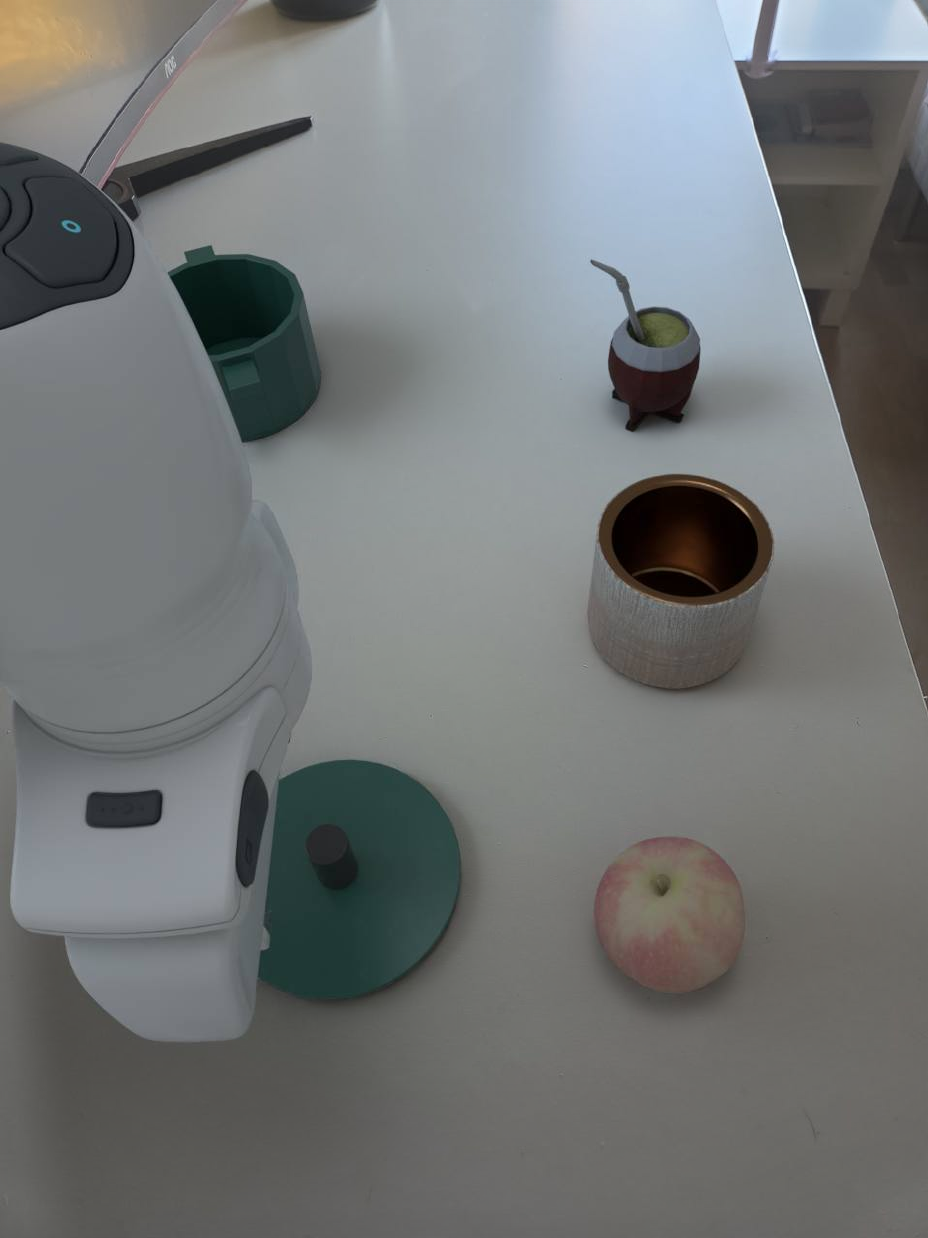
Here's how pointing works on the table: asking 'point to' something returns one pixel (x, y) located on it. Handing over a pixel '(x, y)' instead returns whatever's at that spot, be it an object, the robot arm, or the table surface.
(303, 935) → the lid
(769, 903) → the table surface
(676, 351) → the mate gourd
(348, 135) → the table surface
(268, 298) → the pot
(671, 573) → the planter
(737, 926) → the apple
